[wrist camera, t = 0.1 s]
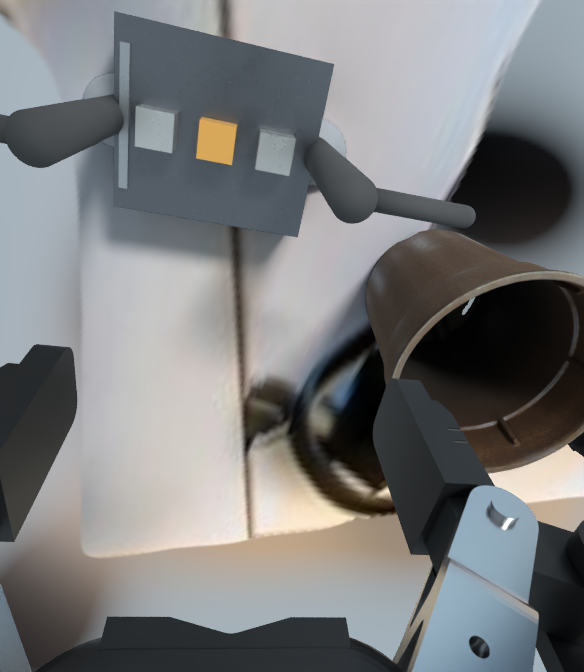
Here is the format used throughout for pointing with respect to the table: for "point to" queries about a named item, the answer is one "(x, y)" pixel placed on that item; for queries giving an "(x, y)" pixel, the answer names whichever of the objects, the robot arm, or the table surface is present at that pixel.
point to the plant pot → (484, 342)
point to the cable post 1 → (64, 125)
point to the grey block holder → (220, 104)
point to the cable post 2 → (369, 188)
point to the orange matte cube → (216, 140)
